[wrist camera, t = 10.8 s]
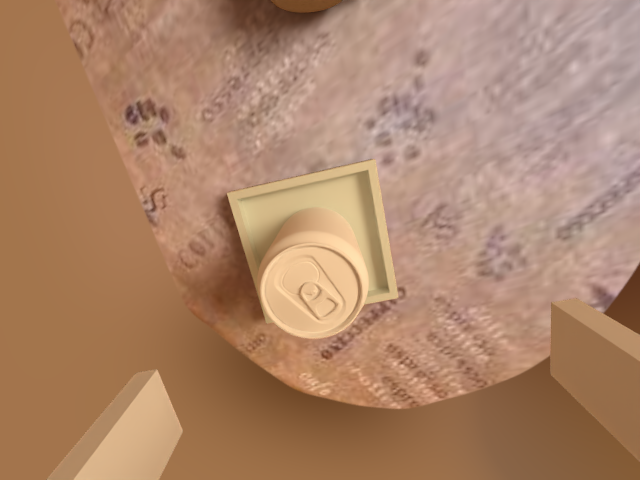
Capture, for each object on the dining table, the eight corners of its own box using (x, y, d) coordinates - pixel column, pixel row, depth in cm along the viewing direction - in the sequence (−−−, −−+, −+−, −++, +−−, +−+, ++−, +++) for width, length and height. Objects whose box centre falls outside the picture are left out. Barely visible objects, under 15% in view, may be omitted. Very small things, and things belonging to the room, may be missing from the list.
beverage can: (321, 189, 31) (318, 210, 19) (370, 248, 32) (395, 299, 21) (263, 239, 32) (227, 286, 21) (313, 293, 34) (306, 364, 22)
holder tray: (232, 190, 31) (226, 193, 29) (371, 159, 30) (375, 159, 28) (269, 314, 35) (266, 323, 33) (394, 289, 34) (398, 297, 32)
